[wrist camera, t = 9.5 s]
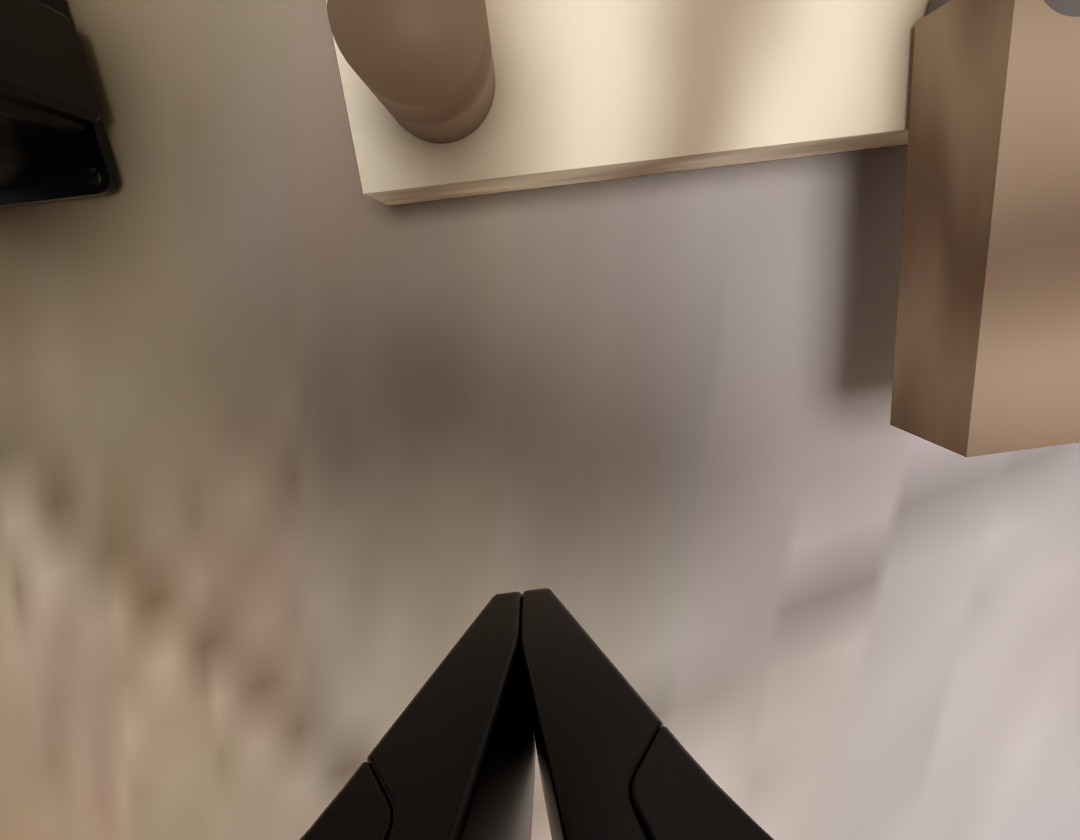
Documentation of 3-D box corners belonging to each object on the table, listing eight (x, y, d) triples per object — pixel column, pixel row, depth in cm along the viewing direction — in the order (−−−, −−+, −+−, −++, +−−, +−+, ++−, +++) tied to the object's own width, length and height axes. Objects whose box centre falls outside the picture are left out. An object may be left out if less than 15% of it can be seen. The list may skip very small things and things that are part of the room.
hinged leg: (918, -33, 13) (1026, -114, 11) (1036, -49, 13) (1176, -134, 11) (890, 424, 17) (966, 457, 14) (984, 412, 17) (1079, 442, 14)
